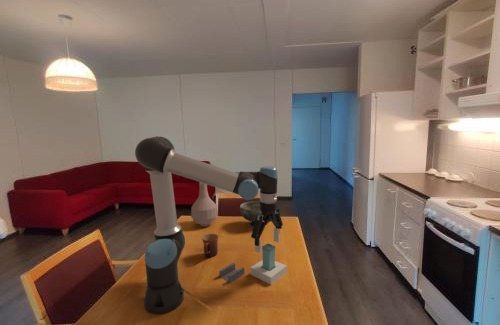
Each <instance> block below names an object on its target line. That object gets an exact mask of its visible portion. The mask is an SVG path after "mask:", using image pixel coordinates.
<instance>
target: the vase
mask: <svg viewBox="0 0 500 325" xmlns="http://www.w3.org/2000/svg"><path fill="white" fill-rule="evenodd" d="M198 184H199V191H198V197H197V199H196V200H195V202H193V204H192V205H191V210H190V211H191V212H190V213H191V215H190V216H191V219H192V220H193V222H194V223H195V224H198V225H200V226H201V227H208V226H210V224H212V223H213V222H215V221H216V219H217V216H218V207H217V204H216V203H215V201H213V200H212V198H211V197H210V196H209V195H210V194H209V192H208V184H205V183H201V182H198Z"/></svg>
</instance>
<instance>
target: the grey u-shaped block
mask: <svg viewBox="0 0 500 325" xmlns="http://www.w3.org/2000/svg"><path fill="white" fill-rule="evenodd" d="M218 272H219V278H221V279H223V280H224V281H226V282H227V283H229V284H231V283H233V282H235V281H236V280H238V279H239V278H241V277H242V276H244V275H245V267H244V266H242V267H240V268H238V269H236V263H235V262H232V263H230V264H228V265H227V266H225V267H223V268H221V269H220V270H219V271H218Z"/></svg>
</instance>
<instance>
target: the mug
mask: <svg viewBox="0 0 500 325" xmlns="http://www.w3.org/2000/svg"><path fill="white" fill-rule="evenodd" d="M201 240H202V243H203V254H204V257H206V258H209V259H211V258H214V257H216V256H218V252H219V248H218V247H219V246H218V240H219V235H218V234H216V233H206V234H204V235H203V236H202V237H201Z"/></svg>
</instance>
